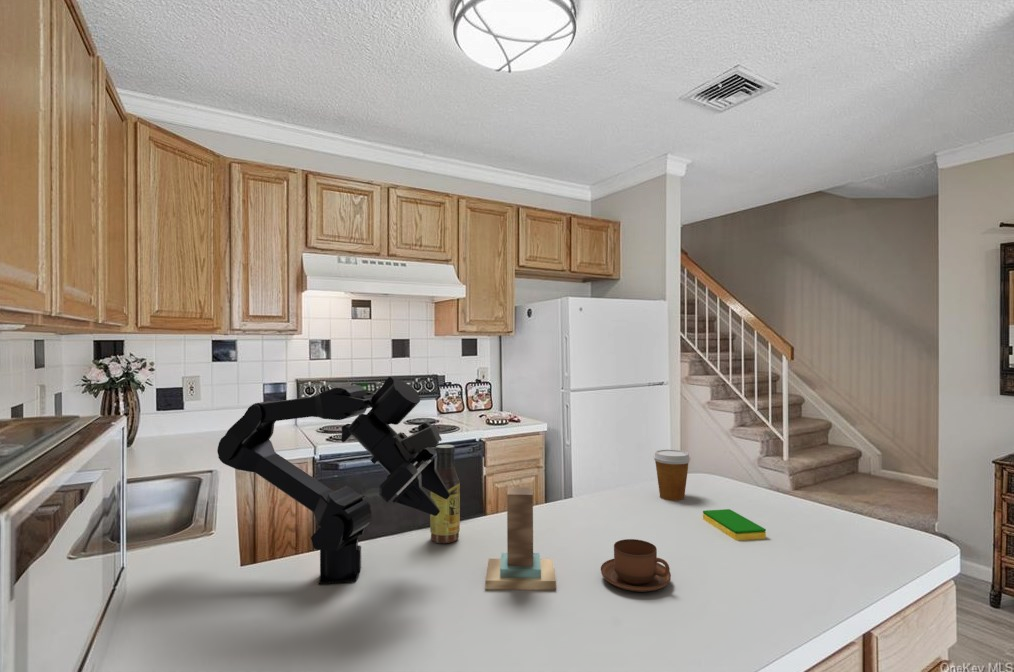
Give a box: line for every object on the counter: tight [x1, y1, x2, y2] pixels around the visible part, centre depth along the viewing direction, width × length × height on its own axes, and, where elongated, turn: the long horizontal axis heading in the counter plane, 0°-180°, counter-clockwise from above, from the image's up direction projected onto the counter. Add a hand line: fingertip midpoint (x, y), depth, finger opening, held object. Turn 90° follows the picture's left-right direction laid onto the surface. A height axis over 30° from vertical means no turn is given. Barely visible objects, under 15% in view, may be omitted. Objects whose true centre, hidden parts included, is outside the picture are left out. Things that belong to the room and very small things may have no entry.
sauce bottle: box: [429, 444, 461, 544], centre depth 113 cm, size 6×6×20 cm
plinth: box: [484, 552, 557, 591], centre depth 94 cm, size 12×9×3 cm
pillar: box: [506, 486, 534, 566], centre depth 94 cm, size 4×4×12 cm
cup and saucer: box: [600, 538, 672, 593], centre depth 93 cm, size 12×12×6 cm
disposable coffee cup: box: [653, 448, 691, 502], centre depth 142 cm, size 10×10×12 cm
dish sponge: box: [702, 508, 767, 541], centre depth 119 cm, size 7×14×2 cm, turn 9°
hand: (443, 505), depth 93 cm, fingers open, 9 cm apart
